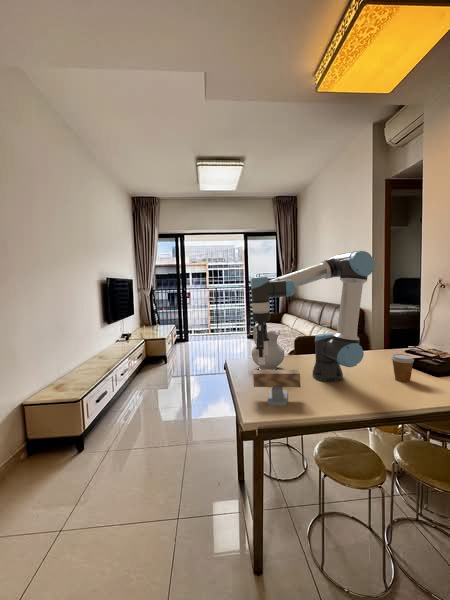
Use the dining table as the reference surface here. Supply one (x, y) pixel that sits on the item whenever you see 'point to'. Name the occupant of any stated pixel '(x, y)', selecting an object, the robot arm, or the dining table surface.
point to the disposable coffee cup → (402, 367)
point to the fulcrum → (277, 397)
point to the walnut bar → (276, 378)
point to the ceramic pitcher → (269, 351)
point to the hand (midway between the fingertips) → (263, 359)
